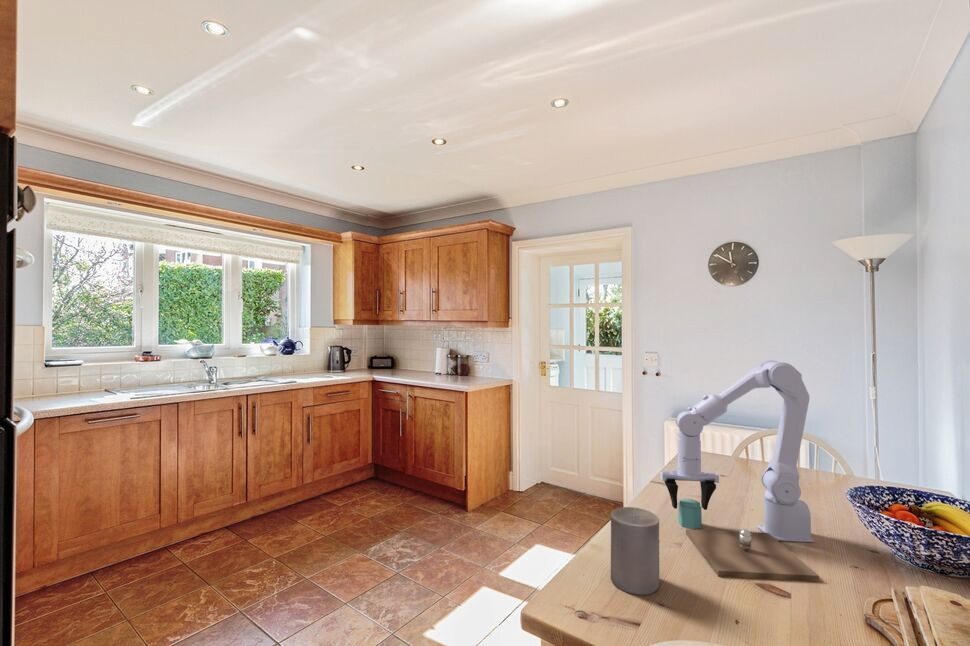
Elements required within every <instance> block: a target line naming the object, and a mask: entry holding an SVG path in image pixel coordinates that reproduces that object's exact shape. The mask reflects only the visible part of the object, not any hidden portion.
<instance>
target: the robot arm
mask: <svg viewBox="0 0 970 646" xmlns="http://www.w3.org/2000/svg"><path fill="white" fill-rule="evenodd" d="M802 375H803V374H802V373H801V372H800V371H799V370H797V368H795V366H793V365H792V364H790V363H787V362H781V361H780V362H779V361H777V360H766V361H765V362H763V363H762V364H761V365H758V366H756V367H754V368H752V369H751V370H750V371H749V372H747V373H746V374H745V375H743V376H742V377H740V378H739V379H738V380H737V381H735V382H734V383H732V384H731V385H730V386H728V387H727V388H726V389H725V390H723V391H722V392H721V393H719V394H712V393H711V394H709V395H706V394H705V395H703V396H702V397H701V398H702V400H700V401H699V402H697V403H696V404H695V405H693V406H689V407H687V410H686V411H685V410H684V411H681V412H680V413H679V414H678V416H677V417H676V420H675V424H676V427H677V428H678V433H677V437H678V438H677V470H668V471H662V470H661V471H660V473H659V474H660V475H659V476H660V479H661V481H663V482H664V484H665V486H666V488H667V490H668V493H669V496H670V500H671V506H672V507H673V509H675V510H676V509H677V510H678V490H679V485H678V484H677V481H683V482H699V484H700V492H701V495H700V497H701V498H700V499H701V501H700V507H701V509H703V510H704V511H707V510H708V507H709V503H710V500H711V497H712V496H713V494H714V492H715V491H716V489H717V484H718V483H720V476H719V474H718V473H716V472H706V471H705V472H704V471H702V445H701V443H702V442H701V433H702V432H703V429H704V427H705V426H708V425H709V424H711V423H712V422H714V421H715V420H717V419H718V418H719V417H721V416H723V415H724V414H726V413H727V410H728V406H729V405H730V404H732V403H733V402H735V401H736V400H738V399H739V398H741V397H742V396H745V395H746V394H747V393H749V392H751V391H752V390H755V389H765V388H766V389H767V388H768V389H769V388H771V387H772V389H775V391H776V392H777V394H778V395H780V397H782V399H783V403H782V408H781V413H780V419H779V422H778V423H779V424H778V428H777V429H778V430H777V435H776V440H775V443H774V444H775V445H774V450H773V453H772V454H773V456H772V459H770V460H769V461H768V464H767V468H766V469H765V470H764V472H763V473H762V475H761V485H763V487H764V488H765V492H764V494H763V511H764V512H763V513H764V514H763V516H764V517H763V518H764V519H763V521H764V522H763V524H761V525H760V524H757V526H756V527H757V528H758V529H759V530H760V531H761V532H762V533H769V534H771V535H772V536H773V537H774V538H775V539H776V540H778V541H779V542H781V541H782V542H800V543H801V542H803V543H805V542H807V543H813V541H814V540H813V539H812V524H811V523H812V522H811V521H812V519H811V517H812V516H811V511H810V508H809V506H808V503H806V502H805V501H804V500H801V499H800V498H801V495H802V490H801V487H800V484H799V483H800V473H799V471H798V467H797V466H798V465H797V464H798V460H799V455H800V449H801V445H802V440H803V439H802V438H803V435H804V430H805V424H806V419H807V413H808V408H809V404H810V394H809V392H808V390H807V387H806V385H805V384H804V383H805V382H804V381H803V376H802ZM716 483H717V484H716Z"/></svg>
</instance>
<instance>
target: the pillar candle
mask: <svg viewBox="0 0 970 646" xmlns="http://www.w3.org/2000/svg"><path fill="white" fill-rule="evenodd" d="M660 542H661V541H660V517H659V516H657V514H655V513H654V512H652V511H650V510H647V509H644V508H641V507H640V508H639V507H632V506H629V507H628V506H625V507H618V508H615V509H613V510H612V511H611V512H610V580H611V582H612V584H613V585H614V586H615V587H616V588H617V589H620V590H621V591H623V592H626V593H629V594H632V595H637V596H639V595H641V596H645V595H652V594H654V593H655V592H656V591H658V589H659V588H660Z"/></svg>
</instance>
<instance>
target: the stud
mask: <svg viewBox="0 0 970 646" xmlns="http://www.w3.org/2000/svg"><path fill="white" fill-rule="evenodd" d="M738 532H739V544H740V546H741V548H742V549H744V550H749V549H750V548H751V533H750V532H751V531H749V529H746V528H742V529H740V530H739V531H738Z"/></svg>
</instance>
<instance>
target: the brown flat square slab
mask: <svg viewBox="0 0 970 646" xmlns="http://www.w3.org/2000/svg"><path fill="white" fill-rule="evenodd" d="M739 532H740V531H739V530H738V531H737V530H736V531H735V530H730V531H729V530H712V529H711V530H708V529H690V528H686V529H685V535H686V537H687V538H688V539H689V540H690V542H691V543H692V544H693V546H694V547H695V548H696V549H697V550H698V552H699V553H700V555H701V556H702V557H703V558H704V560H705V562H707V564H708V565H709V566H710V568H711V569H712V570H713V571H714V573H715V574H716V576H717V577H725V578H741V579H742V578H745V579H746V578H747V579H763V580H782V581H784V580H785V581H799V582H800V581H803V582H804V581H805V582H820V575H819V574H818V573H816V572H815V571H814V570H813V569H812V568H811V567H809V565H807V564H806V563H805V562H803V560H801V559H800V558H799V557H798V556H797V555H795V554H794V553H793V552H792V551H791V550H789V549H788V548H787V547H786V546H785V545H784V544H783V543H781V541H778V540H776V539H775V538H774V537H773V536H772V535H771V534H769V533H764V532H763V531H761V532H759V531H749V532H750V533H751V548H750V549H749V550H744V549H742V548H741V546H740V544H739Z"/></svg>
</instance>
